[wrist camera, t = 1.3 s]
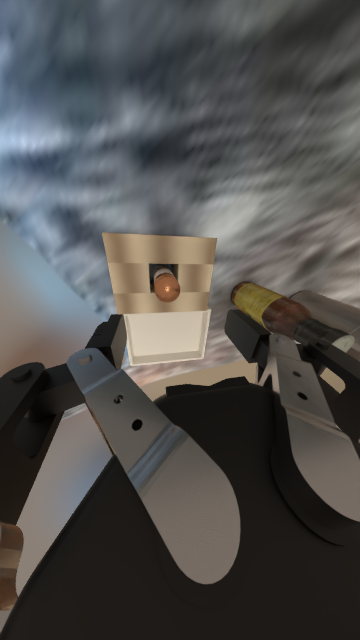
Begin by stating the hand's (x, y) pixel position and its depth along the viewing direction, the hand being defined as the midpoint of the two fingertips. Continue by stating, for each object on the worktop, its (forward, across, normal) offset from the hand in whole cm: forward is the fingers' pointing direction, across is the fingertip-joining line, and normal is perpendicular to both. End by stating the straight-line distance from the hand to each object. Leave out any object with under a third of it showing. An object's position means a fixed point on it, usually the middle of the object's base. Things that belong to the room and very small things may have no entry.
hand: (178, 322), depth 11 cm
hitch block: (+20, 0, 0) cm, 20 cm away
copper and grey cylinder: (+20, 0, 0) cm, 20 cm away
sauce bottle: (+20, -19, +5) cm, 28 cm away
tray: (+20, -1, +14) cm, 24 cm away
